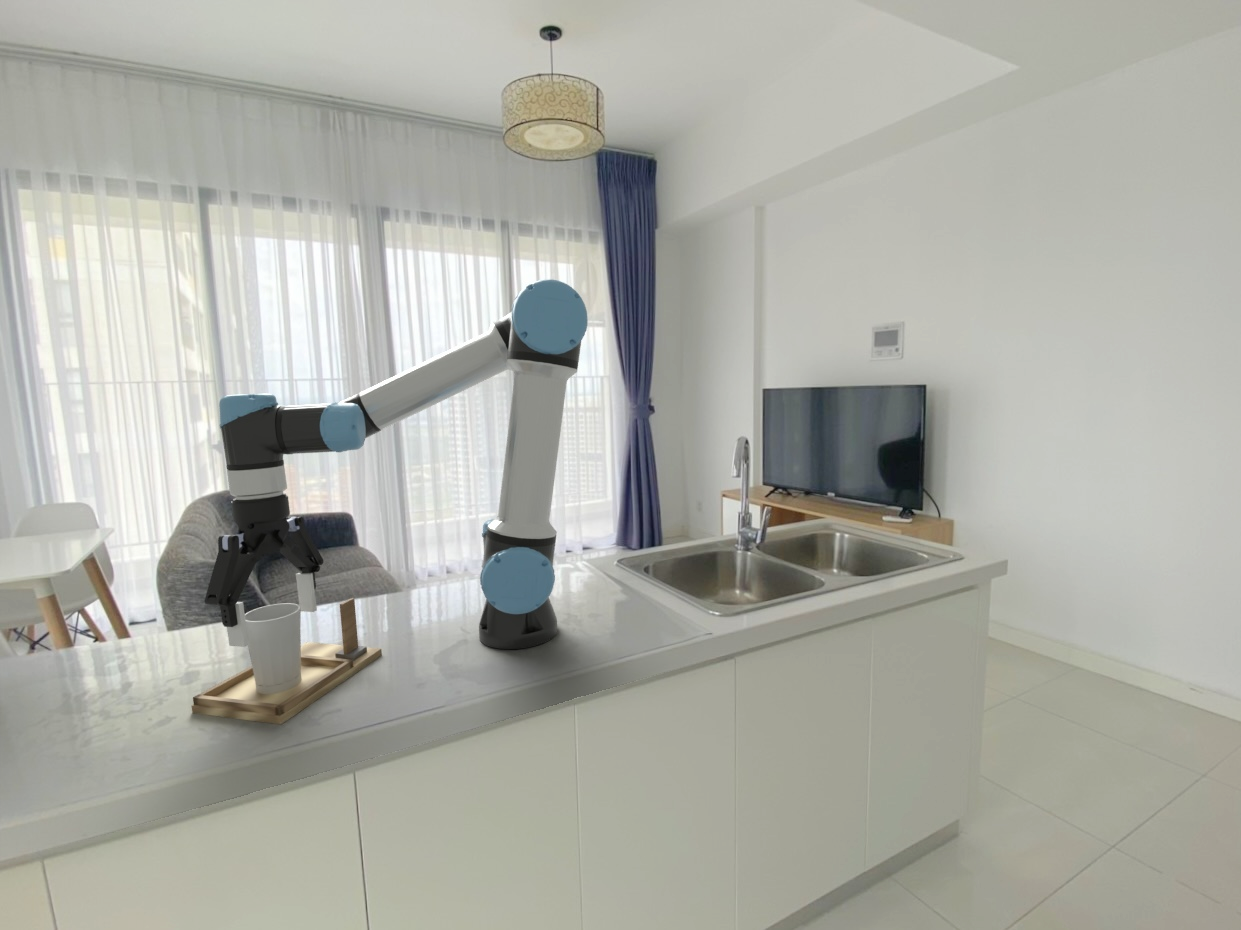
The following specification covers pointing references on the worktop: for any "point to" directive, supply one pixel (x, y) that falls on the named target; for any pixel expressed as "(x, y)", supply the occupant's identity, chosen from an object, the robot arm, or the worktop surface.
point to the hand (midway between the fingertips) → (276, 627)
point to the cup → (275, 646)
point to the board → (318, 675)
